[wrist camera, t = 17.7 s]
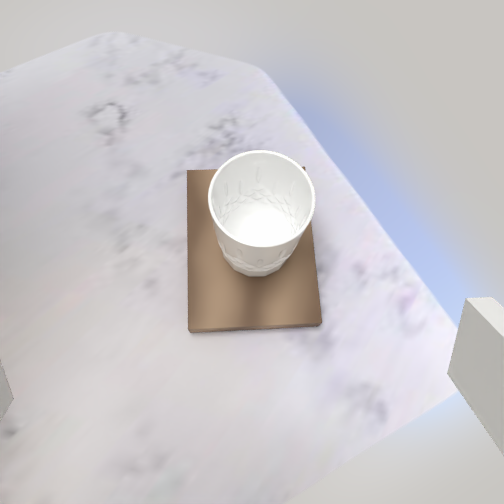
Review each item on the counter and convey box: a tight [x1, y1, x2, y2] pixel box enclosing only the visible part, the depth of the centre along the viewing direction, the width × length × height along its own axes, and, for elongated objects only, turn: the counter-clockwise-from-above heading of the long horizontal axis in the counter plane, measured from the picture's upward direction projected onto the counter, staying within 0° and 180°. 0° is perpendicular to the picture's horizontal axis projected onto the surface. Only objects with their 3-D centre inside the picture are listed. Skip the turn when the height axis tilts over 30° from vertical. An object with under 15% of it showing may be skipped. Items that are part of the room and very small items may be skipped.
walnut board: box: [187, 167, 322, 333], centre depth 41 cm, size 12×16×2 cm
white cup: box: [208, 150, 315, 277], centre depth 36 cm, size 8×8×10 cm
